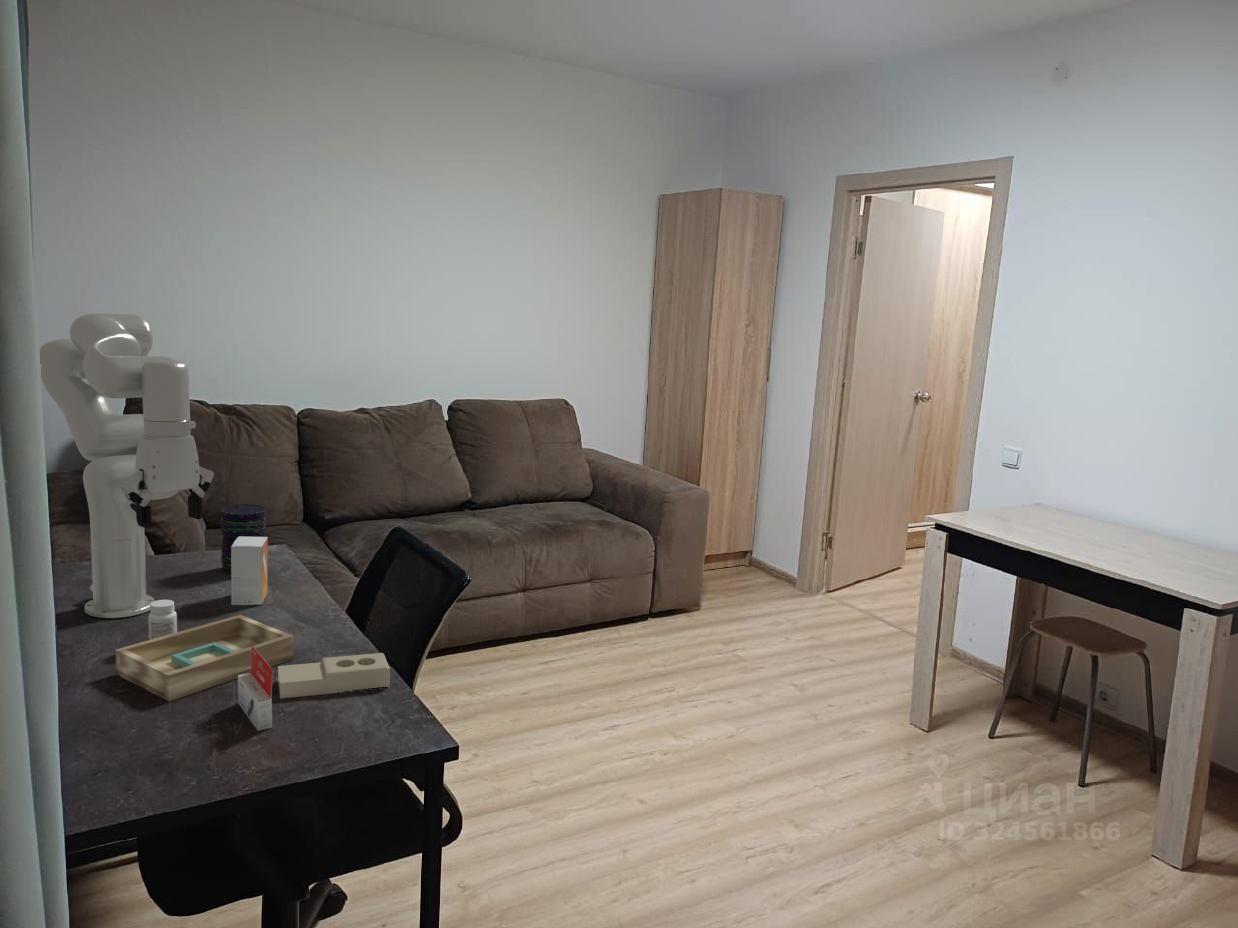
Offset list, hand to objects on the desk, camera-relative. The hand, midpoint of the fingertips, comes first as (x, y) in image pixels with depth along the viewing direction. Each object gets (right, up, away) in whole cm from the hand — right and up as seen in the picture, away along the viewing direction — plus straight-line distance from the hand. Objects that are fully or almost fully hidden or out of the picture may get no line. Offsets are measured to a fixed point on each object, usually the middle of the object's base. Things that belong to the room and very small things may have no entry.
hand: (170, 522), depth 168 cm
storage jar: (-7, -15, +50) cm, 52 cm away
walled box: (+9, -25, -4) cm, 27 cm away
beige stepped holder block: (+32, -28, -7) cm, 44 cm away
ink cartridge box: (+24, -30, -20) cm, 43 cm away
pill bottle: (-3, -24, +4) cm, 24 cm away
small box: (+2, -19, +31) cm, 36 cm away
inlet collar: (+9, -25, -4) cm, 27 cm away
